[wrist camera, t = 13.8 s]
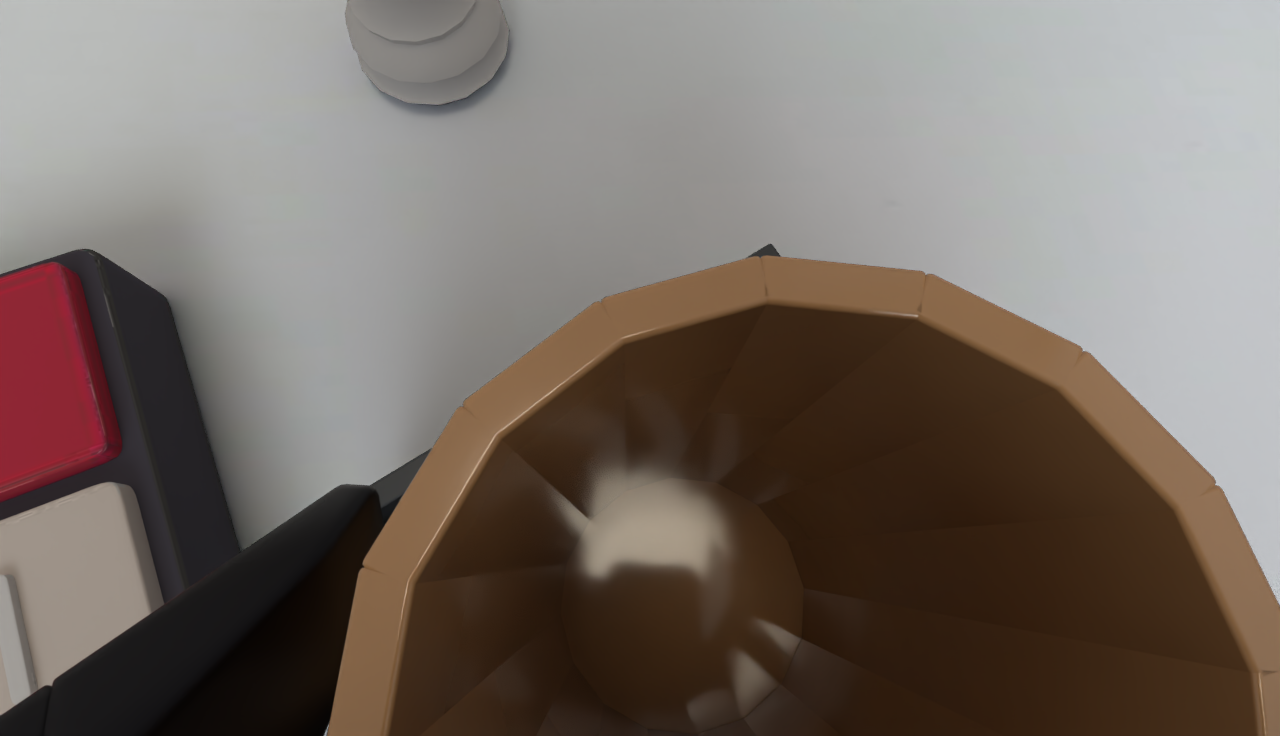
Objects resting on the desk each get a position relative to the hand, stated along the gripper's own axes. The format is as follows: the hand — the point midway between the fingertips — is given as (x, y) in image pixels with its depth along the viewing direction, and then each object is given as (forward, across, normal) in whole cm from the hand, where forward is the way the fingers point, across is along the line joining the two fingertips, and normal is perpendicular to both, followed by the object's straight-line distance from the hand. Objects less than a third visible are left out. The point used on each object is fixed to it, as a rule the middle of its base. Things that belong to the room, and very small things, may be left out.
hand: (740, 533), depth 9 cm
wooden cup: (+5, 0, +7) cm, 9 cm away
